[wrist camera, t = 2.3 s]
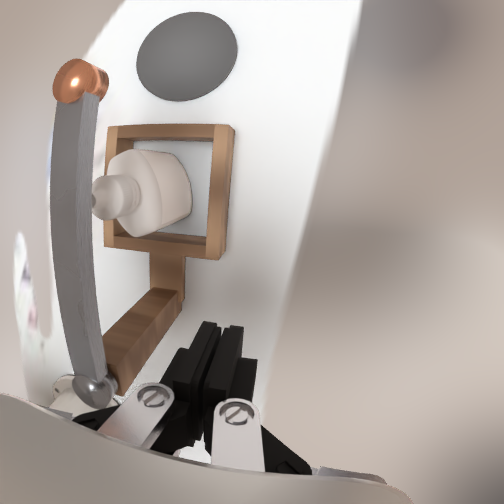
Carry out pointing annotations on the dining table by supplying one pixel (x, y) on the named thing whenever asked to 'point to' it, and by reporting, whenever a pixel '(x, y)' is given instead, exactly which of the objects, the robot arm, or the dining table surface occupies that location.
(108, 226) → the wooden frame with post
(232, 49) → the mat
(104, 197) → the eye dropper bottle
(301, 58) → the dining table surface
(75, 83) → the ball-tipped grey rod
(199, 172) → the dining table surface
